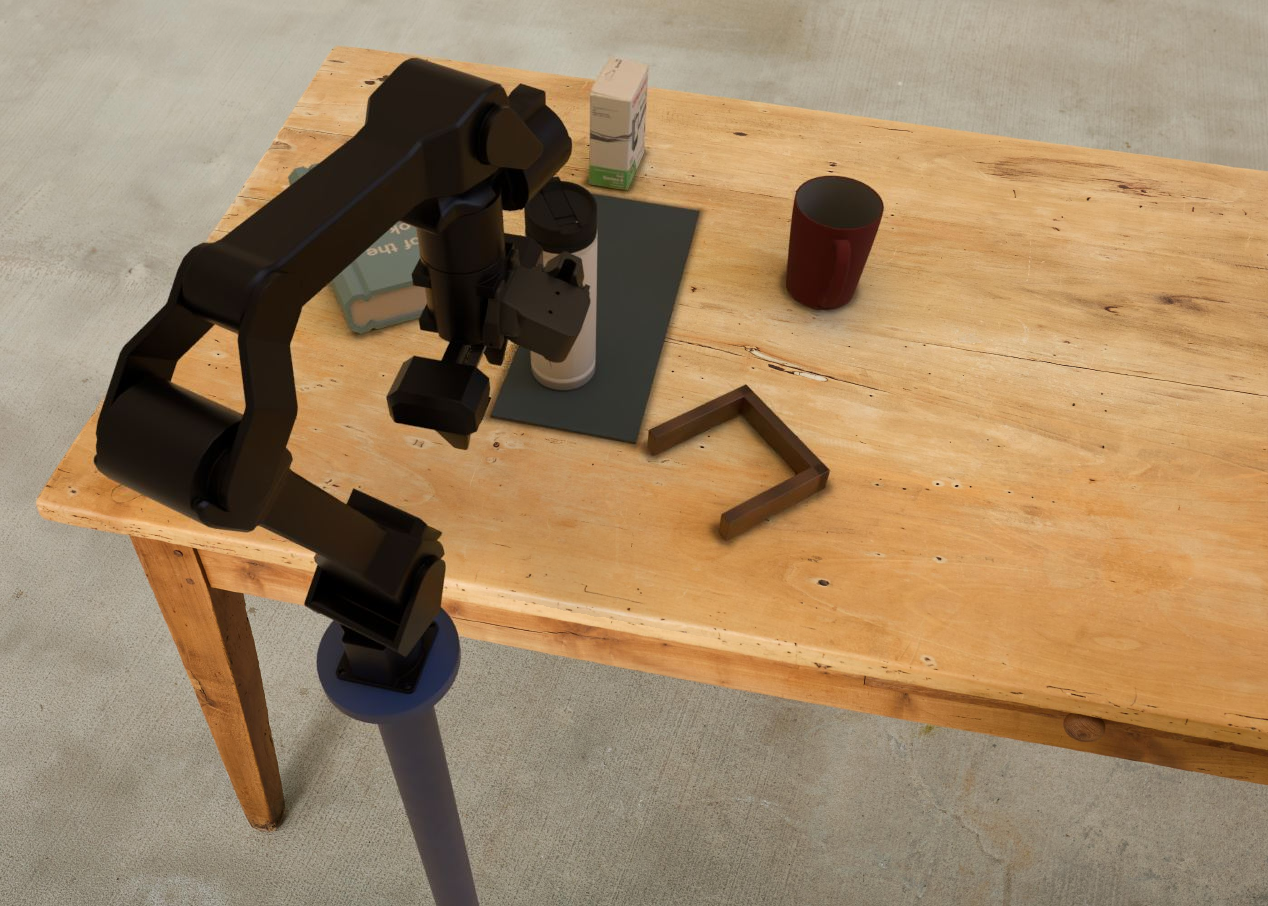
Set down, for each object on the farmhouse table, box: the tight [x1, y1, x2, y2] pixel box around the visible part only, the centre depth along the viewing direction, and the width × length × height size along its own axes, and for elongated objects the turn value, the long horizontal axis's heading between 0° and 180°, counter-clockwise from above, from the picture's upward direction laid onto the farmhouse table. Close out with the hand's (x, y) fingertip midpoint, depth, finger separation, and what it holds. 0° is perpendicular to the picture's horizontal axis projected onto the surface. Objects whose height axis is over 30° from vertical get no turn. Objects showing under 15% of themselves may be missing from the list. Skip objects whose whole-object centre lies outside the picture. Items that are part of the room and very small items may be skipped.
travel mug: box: [523, 175, 597, 390], centre depth 96 cm, size 6×7×20 cm
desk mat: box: [489, 193, 700, 445], centre depth 110 cm, size 36×14×1 cm, turn 168°
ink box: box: [588, 57, 650, 191], centre depth 121 cm, size 9×5×12 cm, turn 166°
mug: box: [785, 175, 885, 310], centre depth 108 cm, size 12×9×11 cm
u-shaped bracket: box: [646, 384, 831, 541], centre depth 96 cm, size 11×12×2 cm
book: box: [287, 162, 427, 335], centre depth 113 cm, size 23×16×5 cm
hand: (479, 404), depth 83 cm, fingers open, 9 cm apart
